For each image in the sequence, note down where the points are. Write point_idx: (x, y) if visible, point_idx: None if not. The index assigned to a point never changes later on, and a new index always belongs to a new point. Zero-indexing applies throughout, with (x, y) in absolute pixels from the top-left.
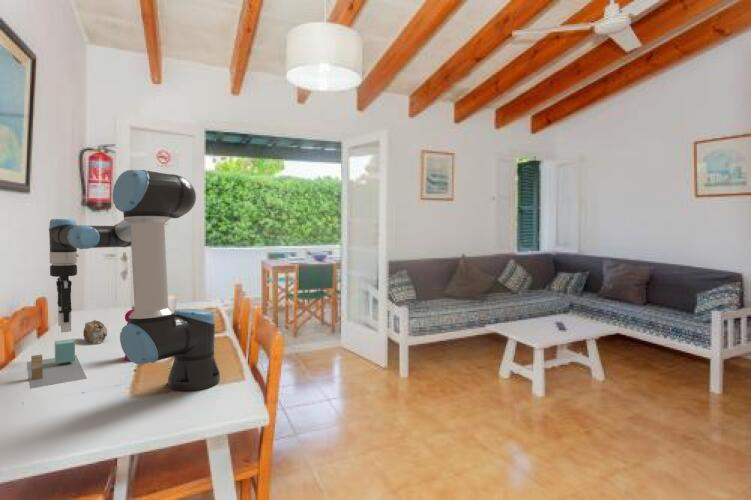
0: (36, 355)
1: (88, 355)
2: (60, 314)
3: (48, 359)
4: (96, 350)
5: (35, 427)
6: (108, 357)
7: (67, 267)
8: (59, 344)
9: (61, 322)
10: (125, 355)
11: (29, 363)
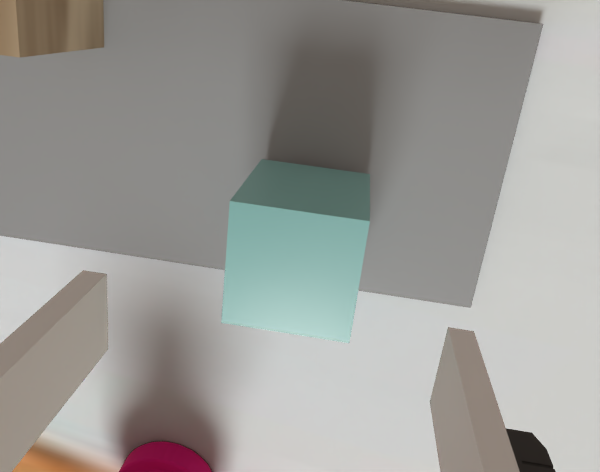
0: (2, 16)
1: (439, 358)
2: (462, 438)
3: (491, 154)
4: (525, 420)
5: None
6: (309, 415)
7: None
8: (230, 224)
9: (23, 329)
10: (179, 470)
11: (483, 31)
